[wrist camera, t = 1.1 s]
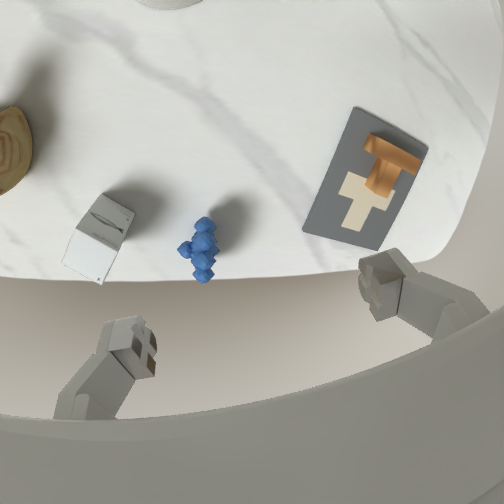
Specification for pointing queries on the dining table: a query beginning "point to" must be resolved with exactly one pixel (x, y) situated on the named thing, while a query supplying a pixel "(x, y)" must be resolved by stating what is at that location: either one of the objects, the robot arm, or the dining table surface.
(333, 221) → the push board
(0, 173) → the ceramic vessel
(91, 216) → the supplement box
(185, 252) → the blue lumpy cluster
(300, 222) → the dining table surface
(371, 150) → the t block
